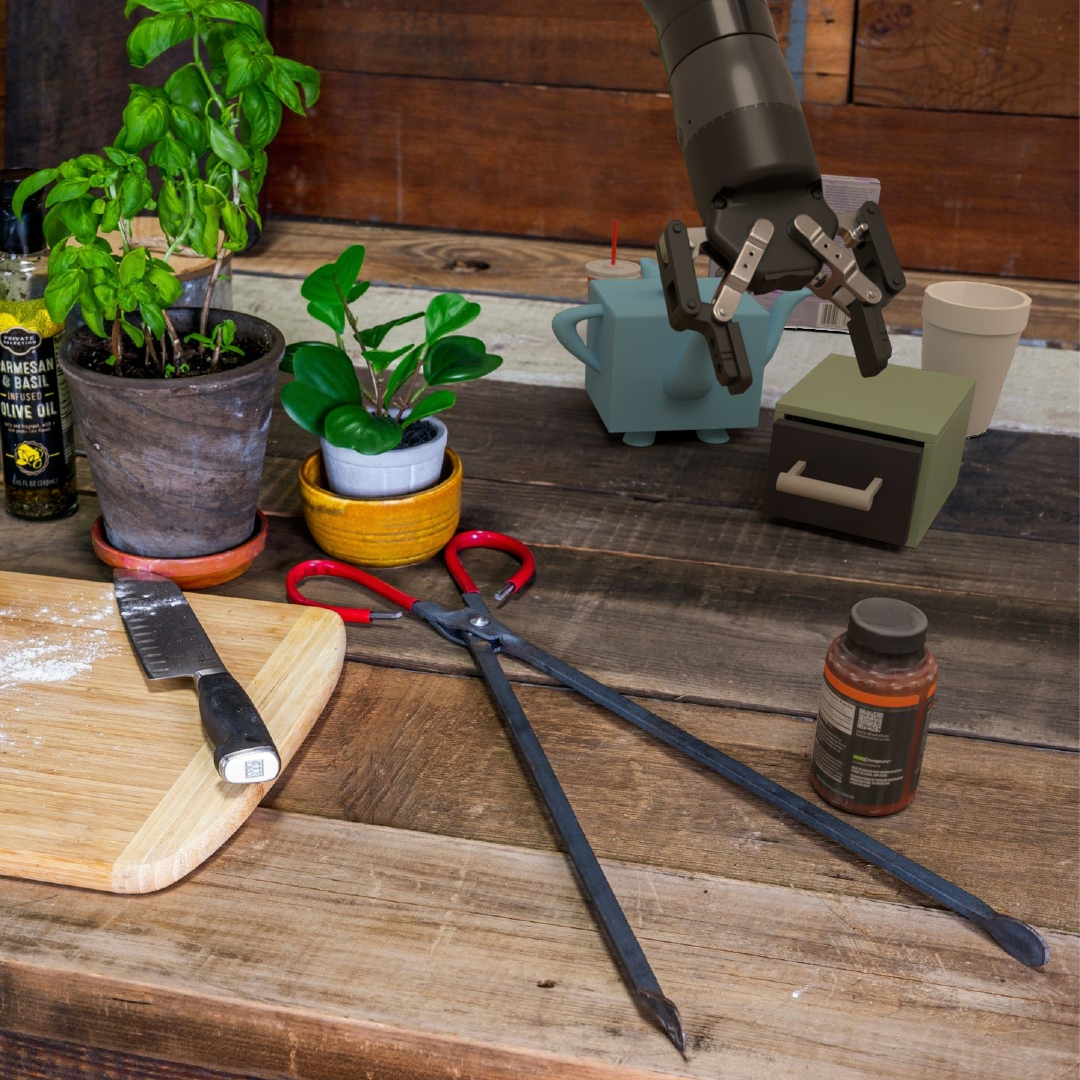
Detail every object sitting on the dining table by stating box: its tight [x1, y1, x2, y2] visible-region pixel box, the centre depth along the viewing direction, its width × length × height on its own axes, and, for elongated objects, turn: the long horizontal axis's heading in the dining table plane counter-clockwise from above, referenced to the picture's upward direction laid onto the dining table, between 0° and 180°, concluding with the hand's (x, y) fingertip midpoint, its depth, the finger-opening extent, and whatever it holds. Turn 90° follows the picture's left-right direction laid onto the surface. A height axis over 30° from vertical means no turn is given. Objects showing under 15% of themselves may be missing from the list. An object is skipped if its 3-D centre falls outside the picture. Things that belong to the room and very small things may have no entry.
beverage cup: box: [584, 219, 642, 298], centre depth 138 cm, size 6×6×14 cm
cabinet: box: [763, 352, 977, 549], centre depth 104 cm, size 15×13×10 cm
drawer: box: [762, 416, 925, 547], centre depth 100 cm, size 18×11×8 cm, turn 151°
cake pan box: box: [707, 173, 882, 329], centre depth 146 cm, size 19×5×18 cm, turn 80°
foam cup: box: [920, 280, 1033, 437], centre depth 119 cm, size 10×9×13 cm
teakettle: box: [551, 256, 814, 447], centre depth 117 cm, size 19×19×15 cm
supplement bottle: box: [809, 597, 939, 817], centre depth 69 cm, size 6×6×11 cm
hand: (810, 381), depth 73 cm, fingers open, 8 cm apart
